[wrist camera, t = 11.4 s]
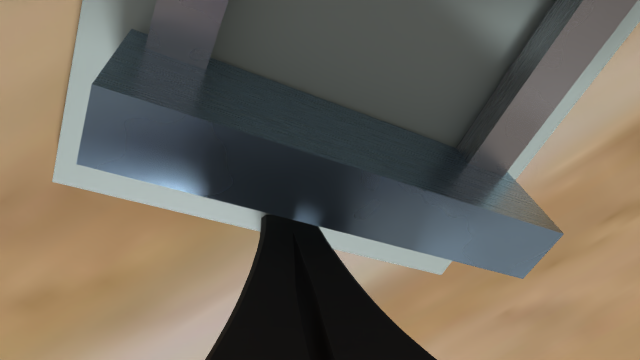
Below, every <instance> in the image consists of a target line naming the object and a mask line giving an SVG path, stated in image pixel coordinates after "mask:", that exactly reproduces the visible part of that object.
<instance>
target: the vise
mask: <svg viewBox="0 0 640 360" xmlns="http://www.w3.org/2000/svg"><path fill="white" fill-rule="evenodd" d="M156 1H157V0H83V1H82V7H81V13H80V19H79V25H78V31H77V37H76V43H75V49H74V55H73V61H72V67H71V73H70V79H69V85H68V91H67V97H66V103H65V109H64V115H63V121H62V127H61V133H60V139H59V145H58V151H57V157H56V163H55V168H54V174H53V180H52V182H56V183H60V184H64V185H68V186H72V187H76V188H81V189H85V190H89V191H93V192H97V193H102V194H106V195H110V196H114V197H118V198H122V199H127V200H131V201H135V202H139V203H143V204H147V205H152V206H156V207H160V208H164V209H168V210H172V211H177V212H181V213H185V214H189V215H193V216H197V217H202V218H206V219H210V220H214V221H218V222H222V223H227V224H231V225H235V226H239V227H243V228H247V229H252V230H256V231H260V229H261V218H262V217H263V216H264V215H266V214H268V213H265V212H261V211H257V210H253V209H249V208H245V207H241V206H237V205H233V204H229V203H226V202H222V201H218V200H214V199H210V198H206V197H202V196H198V195H194V194H191V193H187V192H183V191H179V190H175V189H171V188H167V187H163V186H159V185H155V184H152V183H148V182H144V181H140V180H136V179H132V178H128V177H124V176H120V175H116V174H113V173H109V172H105V171H101V170H97V169H93V168H89V167H85V166H81V165H77V164H76V162H77V157H78V152H79V147H80V142H81V136H82V131H83V126H84V121H85V116H86V111H87V106H88V101H89V95H90V90H91V85H92V83H93V82H94V80H95V79H96V77H97V76H98V75H99V73H100V72H101V70H102V69H103V68H104V66H105V65H106V63H107V62H108V61H109V59H110V58H111V56H112V55H113V54H114V52H115V51H116V49H117V48H118V47H119V45H120V44H121V43H122V41H123V40H124V38H125V37H126V36H127V34H128V33H129V31H130V30H131V29H134V30H137V31H140V32H143V33H145V34H148V33H149V29H150V25H151V21H152V17H153V13H154V9H155V5H156ZM554 2H555V0H229V1H228V4H227V7H226V10H225V13H224V16H223V19H222V22H221V25H220V28H219V31H218V35H217V38H216V41H215V44H214V47H213V50H212V53H211V56H210V58H213V59H216V60H219V61H221V62H224V63H227V64H229V65H232V66H235V67H238V68H240V69H243V70H246V71H248V72H251V73H254V74H257V75H259V76H262V77H265V78H267V79H270V80H273V81H276V82H278V83H281V84H284V85H286V86H289V87H292V88H295V89H297V90H300V91H303V92H305V93H308V94H311V95H314V96H316V97H319V98H322V99H324V100H327V101H330V102H333V103H335V104H338V105H341V106H343V107H346V108H349V109H352V110H354V111H357V112H360V113H363V114H365V115H368V116H371V117H373V118H376V119H379V120H382V121H384V122H387V123H390V124H392V125H395V126H398V127H401V128H403V129H406V130H409V131H411V132H414V133H417V134H420V135H422V136H425V137H428V138H430V139H433V140H436V141H439V142H441V143H444V144H447V145H449V146H452V147H455V148H456V147H457V146H458V144H459V143H460V141H461V140H462V138H463V137H464V135H465V134H466V132H467V131H468V129H469V128H470V126H471V125H472V123H473V122H474V120H475V119H476V117H477V116H478V114H479V113H480V111H481V110H482V108H483V107H484V105H485V104H486V103H487V101H488V100H489V98H490V97H491V95H492V94H493V92H494V91H495V89H496V88H497V86H498V85H499V83H500V82H501V80H502V79H503V77H504V76H505V74H506V73H507V71H508V70H509V68H510V67H511V65H512V64H513V62H514V61H515V60H516V58H517V57H518V55H519V54H520V52H521V51H522V49H523V48H524V46H525V45H526V43H527V42H528V40H529V39H530V37H531V36H532V34H533V33H534V31H535V30H536V28H537V27H538V25H539V24H540V22H541V21H542V20H543V18H544V17H545V15H546V14H547V12H548V11H549V9H550V8H551V6H552V5H553V3H554ZM639 22H640V0H638V1H637V2H636V3H635V5H634V6H633V7H632V9H631V10H630V11H629V13H628V14H627V15H626V17H625V18H624V19H623V20H622V22H621V23H620V24H619V26H618V27H617V28H616V30H615V31H614V32H613V34H612V35H611V36H610V38H609V39H608V40H607V41H606V43H605V44H604V45H603V47H602V48H601V49H600V51H599V52H598V53H597V55H596V56H595V57H594V58H593V60H592V61H591V62H590V64H589V65H588V66H587V68H586V69H585V70H584V72H583V73H582V74H581V76H580V77H579V78H578V79H577V81H576V82H575V83H574V85H573V86H572V87H571V89H570V90H569V91H568V93H567V94H566V95H565V96H564V98H563V99H562V100H561V102H560V103H559V104H558V106H557V107H556V108H555V110H554V111H553V112H552V114H551V115H550V116H549V117H548V119H547V120H546V121H545V123H544V124H543V125H542V127H541V128H540V129H539V131H538V132H537V133H536V134H535V136H534V137H533V138H532V140H531V141H530V142H529V144H528V145H527V146H526V148H525V149H524V150H523V152H522V153H521V154H520V155H519V157H518V158H517V159H516V161H515V162H514V163H513V165H512V166H511V167H510V169H509V170H508V171H507V172H508V173H509V174H510V175H511V176H512V177H513V178H514V180H516V179H517V177H518V176H519V175H520V174H521V172H522V171H523V170H524V169H525V167H526V166H527V165H528V163H529V162H530V161H531V160H532V158H533V157H534V156H535V154H536V153H537V152H538V151H539V149H540V148H541V147H542V146H543V144H544V143H545V142H546V140H547V139H548V138H549V137H550V135H551V134H552V133H553V131H554V130H555V129H556V128H557V126H558V125H559V124H560V123H561V121H562V120H563V119H564V117H565V116H566V115H567V114H568V112H569V111H570V110H571V108H572V107H573V106H574V105H575V103H576V102H577V101H578V100H579V98H580V97H581V96H582V94H583V93H584V92H585V91H586V89H587V88H588V87H589V85H590V84H591V83H592V82H593V80H594V79H595V78H596V77H597V75H598V74H599V73H600V71H601V70H602V69H603V68H604V66H605V65H606V64H607V62H608V61H609V60H610V59H611V57H612V56H613V55H614V54H615V52H616V51H617V50H618V48H619V47H620V46H621V45H622V43H623V42H624V41H625V39H626V38H627V37H628V36H629V34H630V33H631V32H632V31H633V29H634V28H635V27H636V25H637V24H638V23H639ZM319 228H320V230H321V231H322V233H323V235H324V236H325V238H326V239H327V241H328V242H329V244H330V245H331V247H332V248H333V249H335V250H339V251H343V252H347V253H352V254H356V255H360V256H364V257H368V258H372V259H377V260H381V261H385V262H389V263H393V264H398V265H402V266H406V267H410V268H414V269H418V270H423V271H427V272H431V273H435V274H439V275H442V273H443V272H444V271H445V269H446V268H447V267H448V266H449V264H450V263H451V262H452V260H448V259H444V258H440V257H436V256H432V255H428V254H424V253H421V252H417V251H413V250H409V249H405V248H401V247H397V246H393V245H389V244H385V243H382V242H378V241H374V240H370V239H366V238H362V237H358V236H354V235H350V234H346V233H343V232H339V231H335V230H331V229H327V228H323V227H319Z"/></svg>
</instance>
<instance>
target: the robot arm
mask: <svg viewBox="0 0 640 360" xmlns="http://www.w3.org/2000/svg"><path fill="white" fill-rule="evenodd" d="M205 360H437V359H435V358H434V357H433V356H432V355H430V354H429V353H428V352H427V351H426V350H425V349H423V348H422V347H421V346H420V345H419V344H417V343H416V342H415V341H414V340H413V339H412V338H410V337H409V336H408V335H407V334H406V333H405V332H404V331H403V330H401V329H400V328H399V327H398V326H397V325H396V324H395V323H394V322H393V321H392V320H391V319H390V318H389V317H388V316H387V315H386V314H385V313H384V312H383V311H382V310H381V309H380V308H379V307H378V305H377V304H376V303H375V302H374V301H373V300H372V299H371V298H370V297H369V295H368V294H367V293H366V292H365V291H364V289H363V288H362V287H361V286H360V285H359V283H358V282H357V281H356V280H355V278H354V277H353V276H352V275H351V273H350V272H349V271H348V269H347V268H346V267H345V265H344V264H343V263H342V261H341V260H340V258H339V257H338V256H337V254H336V253H335V251H334V250H333V248H332V247H331V245H330V244H329V242H328V241H327V239H326V238H325V236H324V235H323V233H322V231H321V230H320V228H319V226H315V225H311V224H307V223H304V222H300V221H296V220H292V219H288V218H284V217H280V216H276V215H272V214H266V215H264V216H263V217H262V218H261V229H260V240H259V244H258V248H257V252H256V255H255V258H254V261H253V264H252V267H251V270H250V273H249V275H248V278H247V280H246V283H245V285H244V288H243V290H242V292H241V295H240V297H239V299H238V301H237V303H236V306H235V308H234V310H233V312H232V314H231V316H230V318H229V319H228V321H227V323H226V325H225V327H224V329H223V330H222V332H221V334H220V336H219V337H218V339H217V341H216V343H215V344H214V346H213V348H212V349H211V351H210V353H209V354H208V356H207V357H206V359H205Z"/></svg>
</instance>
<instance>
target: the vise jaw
mask: <svg viewBox="0 0 640 360" xmlns="http://www.w3.org/2000/svg"><path fill="white" fill-rule="evenodd" d="M228 1H229V0H157V1H156V5H155V9H154V13H153V17H152V21H151V25H150V29H149V33H148V34H145V33H143V32H140V31H137V30H134V29H131V30H130V31H129V33H128V34H127V36H126V37H125V38H124V40H123V41H122V43H121V44H120V45H119V47H118V48H117V49H116V51H115V52H114V54H113V55H112V56H111V58H110V59H109V61H108V62H107V63H106V65H105V66H104V68H103V69H102V70H101V72H100V73H99V75H98V76H97V77H96V79H95V80H94V82H93V83H92V85H91V90H90V95H89V101H88V106H87V111H86V116H85V121H84V126H83V131H82V136H81V142H80V147H79V152H78V157H77V162H76V164H77V165H81V166H85V167H89V168H93V169H97V170H101V171H105V172H109V173H113V174H116V175H120V176H124V177H128V178H132V179H136V180H140V181H144V182H148V183H152V184H155V185H159V186H163V187H167V188H171V189H175V190H179V191H183V192H187V193H191V194H194V195H198V196H202V197H206V198H210V199H214V200H218V201H222V202H226V203H229V204H233V205H237V206H241V207H245V208H249V209H253V210H257V211H261V212H265V213H268V214H272V215H276V216H280V217H284V218H288V219H292V220H296V221H300V222H304V223H307V224H311V225H315V226H319V227H323V228H327V229H331V230H335V231H339V232H343V233H346V234H350V235H354V236H358V237H362V238H366V239H370V240H374V241H378V242H382V243H385V244H389V245H393V246H397V247H401V248H405V249H409V250H413V251H417V252H421V253H424V254H428V255H432V256H436V257H440V258H444V259H448V260H452V261H456V262H460V263H463V264H467V265H471V266H475V267H479V268H483V269H487V270H491V271H495V272H498V273H502V274H506V275H510V276H514V277H518V278H522V279H523V278H524V277H525V276H526V275H527V274H528V273H529V272H530V271H531V269H532V268H533V267H534V266H535V265H536V264H537V263H538V262H539V261H540V260H541V258H542V257H543V256H544V255H545V254H546V253H547V252H548V251H549V250H550V249H551V248H552V246H553V245H554V244H555V243H556V242H557V241H558V240H559V239H560V238H561V237H562V235H563V234H564V233H563V232H562V231H561V230H560V229H559V228H558V227H557V226H556V225H555V224H554V222H553V221H552V220H551V219H550V218H549V217H548V216H547V215H546V214H545V213H544V211H543V210H542V209H541V208H540V207H539V206H538V205H537V204H536V203H535V202H534V200H533V199H532V198H531V197H530V196H529V195H528V194H527V193H526V192H525V191H524V189H523V188H522V187H521V186H520V185H519V184H518V183H517V182H516V181H515V180H514V178H513V177H512V176H511V175H510V174H509V173H508V172H507V171H508V170H509V169H510V167H511V166H512V165H513V163H514V162H515V161H516V159H517V158H518V157H519V155H520V154H521V153H522V152H523V150H524V149H525V148H526V146H527V145H528V144H529V142H530V141H531V140H532V138H533V137H534V136H535V134H536V133H537V132H538V131H539V129H540V128H541V127H542V125H543V124H544V123H545V121H546V120H547V119H548V117H549V116H550V115H551V114H552V112H553V111H554V110H555V108H556V107H557V106H558V104H559V103H560V102H561V100H562V99H563V98H564V96H565V95H566V94H567V93H568V91H569V90H570V89H571V87H572V86H573V85H574V83H575V82H576V81H577V79H578V78H579V77H580V76H581V74H582V73H583V72H584V70H585V69H586V68H587V66H588V65H589V64H590V62H591V61H592V60H593V58H594V57H595V56H596V55H597V53H598V52H599V51H600V49H601V48H602V47H603V45H604V44H605V43H606V41H607V40H608V39H609V38H610V36H611V35H612V34H613V32H614V31H615V30H616V28H617V27H618V26H619V24H620V23H621V22H622V20H623V19H624V18H625V17H626V15H627V14H628V13H629V11H630V10H631V9H632V7H633V6H634V5H635V3H636V2H637V1H638V0H555V2H554V3H553V5H552V6H551V8H550V9H549V11H548V12H547V14H546V15H545V17H544V18H543V20H542V21H541V22H540V24H539V25H538V27H537V28H536V30H535V31H534V33H533V34H532V36H531V37H530V39H529V40H528V42H527V43H526V45H525V46H524V48H523V49H522V51H521V52H520V54H519V55H518V57H517V58H516V60H515V61H514V62H513V64H512V65H511V67H510V68H509V70H508V71H507V73H506V74H505V76H504V77H503V79H502V80H501V82H500V83H499V85H498V86H497V88H496V89H495V91H494V92H493V94H492V95H491V97H490V98H489V100H488V101H487V103H486V104H485V105H484V107H483V108H482V110H481V111H480V113H479V114H478V116H477V117H476V119H475V120H474V122H473V123H472V125H471V126H470V128H469V129H468V131H467V132H466V134H465V135H464V137H463V138H462V140H461V141H460V143H459V144H458V146H457V147H456V148H455V147H452V146H449V145H447V144H444V143H441V142H439V141H436V140H433V139H430V138H428V137H425V136H422V135H420V134H417V133H414V132H411V131H409V130H406V129H403V128H401V127H398V126H395V125H392V124H390V123H387V122H384V121H382V120H379V119H376V118H373V117H371V116H368V115H365V114H363V113H360V112H357V111H354V110H352V109H349V108H346V107H343V106H341V105H338V104H335V103H333V102H330V101H327V100H324V99H322V98H319V97H316V96H314V95H311V94H308V93H305V92H303V91H300V90H297V89H295V88H292V87H289V86H286V85H284V84H281V83H278V82H276V81H273V80H270V79H267V78H265V77H262V76H259V75H257V74H254V73H251V72H248V71H246V70H243V69H240V68H238V67H235V66H232V65H229V64H227V63H224V62H221V61H219V60H216V59H213V58H210V56H211V53H212V50H213V47H214V44H215V41H216V38H217V35H218V31H219V28H220V25H221V22H222V19H223V16H224V13H225V10H226V7H227V4H228Z"/></svg>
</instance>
